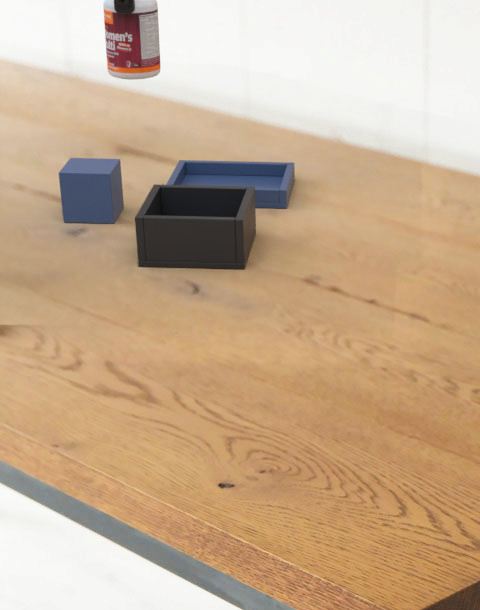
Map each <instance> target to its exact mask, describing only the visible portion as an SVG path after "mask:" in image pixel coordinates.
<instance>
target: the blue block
mask: <svg viewBox="0 0 480 610" xmlns="http://www.w3.org/2000/svg"><path fill="white" fill-rule="evenodd" d="M58 180H59V191H60V200H61V212H62V222H63V223H71V224H73V223H74V224H110V225H111V224H115V223H116V221H117V220H118V218H119V216H120V214H121V213H122V211H123V209H124V208H125V203H124V202H125V201H124V191H123V178H122V165H121V158H97V157H96V158H93V157H92V158H91V157H90V158H89V157H70V158H69V159H68V160H67V161H66V163H65V164H64V165H63V166H62V168H61V169H60V170H59V172H58Z"/></svg>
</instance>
